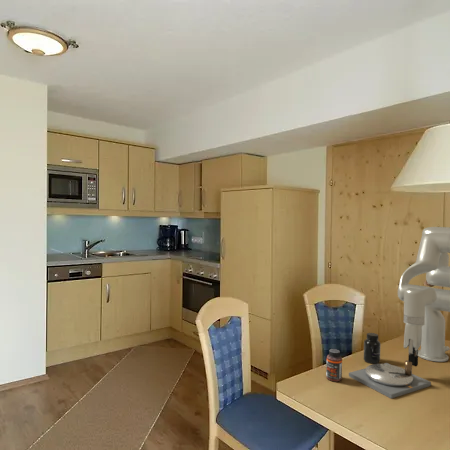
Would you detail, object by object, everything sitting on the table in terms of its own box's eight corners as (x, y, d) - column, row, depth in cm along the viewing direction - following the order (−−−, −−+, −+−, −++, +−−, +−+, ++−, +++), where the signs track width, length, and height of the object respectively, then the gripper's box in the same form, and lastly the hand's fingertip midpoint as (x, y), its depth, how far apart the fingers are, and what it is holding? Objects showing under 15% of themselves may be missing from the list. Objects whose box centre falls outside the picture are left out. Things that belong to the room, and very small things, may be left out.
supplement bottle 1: (324, 380, 145) (325, 351, 144) (327, 374, 150) (328, 346, 149) (340, 383, 142) (340, 354, 141) (343, 377, 147) (343, 349, 147)
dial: (369, 383, 138) (369, 366, 138) (362, 365, 154) (363, 350, 154) (418, 388, 134) (419, 371, 134) (406, 369, 150) (407, 354, 150)
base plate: (386, 366, 158) (386, 362, 158) (430, 385, 140) (430, 381, 140) (348, 376, 148) (348, 372, 148) (391, 398, 130) (391, 394, 130)
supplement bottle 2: (377, 365, 159) (378, 337, 159) (361, 361, 163) (362, 334, 163) (381, 360, 164) (382, 333, 164) (366, 356, 169) (366, 330, 168)
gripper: (408, 314, 155) (407, 356, 156) (399, 322, 144) (398, 368, 144) (428, 317, 151) (427, 361, 151) (420, 325, 139) (419, 373, 139)
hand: (413, 364), depth 148 cm, fingers closed
